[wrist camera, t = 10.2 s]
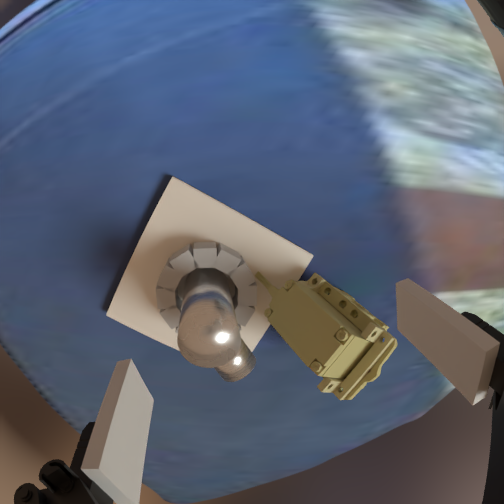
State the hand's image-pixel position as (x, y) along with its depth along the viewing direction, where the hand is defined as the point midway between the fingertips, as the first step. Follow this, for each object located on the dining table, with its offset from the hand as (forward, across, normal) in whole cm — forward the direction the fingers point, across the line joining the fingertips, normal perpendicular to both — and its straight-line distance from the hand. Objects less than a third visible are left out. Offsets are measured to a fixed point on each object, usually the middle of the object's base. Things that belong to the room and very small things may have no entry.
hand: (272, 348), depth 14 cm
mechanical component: (+23, +8, -13) cm, 28 cm away
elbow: (+21, -4, -6) cm, 22 cm away
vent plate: (+22, -5, -4) cm, 23 cm away
